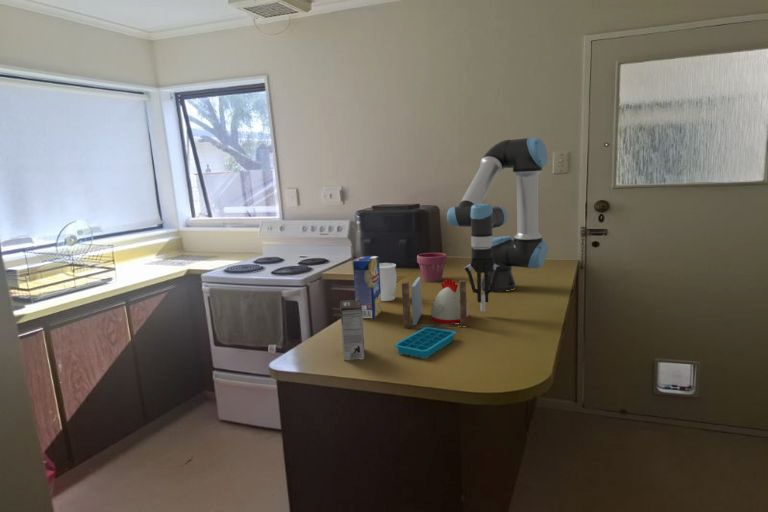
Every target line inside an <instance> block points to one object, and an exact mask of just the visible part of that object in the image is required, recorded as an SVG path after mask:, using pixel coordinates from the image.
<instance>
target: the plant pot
mask: <svg viewBox="0 0 768 512" xmlns="http://www.w3.org/2000/svg"><path fill="white" fill-rule="evenodd" d="M416 263H417V264H419V265H418V266H419V269H420V273H421V279H422V281H423V282H427V283H437V282H436V281H438V282H440V280H441V279H442V278H443V274H444V268H445V263H447V254H446V253H443V252H424V253H419V254H417V256H416ZM441 281H442V280H441Z"/></svg>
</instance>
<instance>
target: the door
mask: <svg viewBox="0 0 768 512" xmlns="http://www.w3.org/2000/svg"><path fill="white" fill-rule="evenodd" d="M410 288H411V308H412V309H411V313H412V314H411V315H412V325H418V322H419V321H420V318H421V316H422V314H423V304H422V303H423V302H422V301H423V300H422V276H418V277H416V279H415V280H414V282H413V284H412V285H411V287H410Z"/></svg>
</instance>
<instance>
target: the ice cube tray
mask: <svg viewBox="0 0 768 512" xmlns="http://www.w3.org/2000/svg"><path fill="white" fill-rule="evenodd" d="M456 334H457V332H456V331H455V330H449V329H444V328H431V327H426V328H420V329H419V330H417V331H416V332H414V333H412V334H411V335H408V336H406V337H405V338H403V339H401V340H400V341H397V342H396V343H394V345H393V346H394V347H395V348H397V353H398V354H399V353H402V354H401V355H403V354H407V355H406V356H408V355H412V356H411V357H413V356H416V357H415V358H418V357H421V358H420V359H427V358H426V357H428V356H429V357H431V356H432V355H434V354H435V353H437V352H438V351H440V350H442V349H443V348H445V347H446V346H448V345H450V342H451V343H452V342H454V335H456ZM447 344H448V345H447ZM444 346H445V347H444ZM439 349H440V350H439ZM436 351H437V352H436ZM433 353H434V354H433ZM430 355H431V356H430ZM429 357H428V358H429Z"/></svg>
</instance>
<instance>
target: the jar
mask: <svg viewBox="0 0 768 512" xmlns="http://www.w3.org/2000/svg"><path fill="white" fill-rule="evenodd" d="M396 267H397V264H396V263H392V262H379V268H380V288H381V302H390V301H394V300H395V299H396V297H395V293H396V290H397V280H398V278H397V272H396V271H397V270H396Z"/></svg>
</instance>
